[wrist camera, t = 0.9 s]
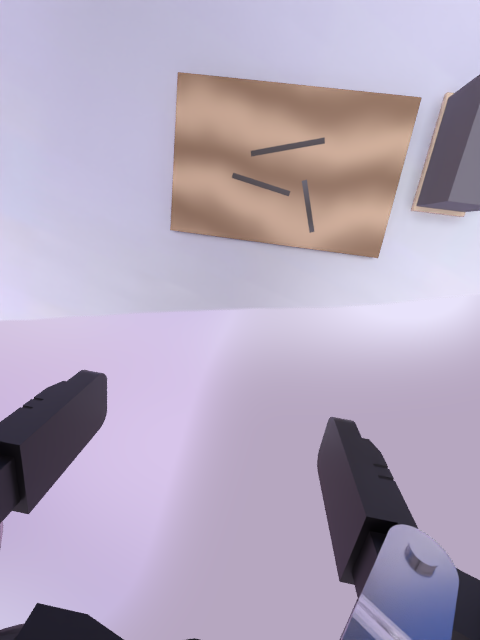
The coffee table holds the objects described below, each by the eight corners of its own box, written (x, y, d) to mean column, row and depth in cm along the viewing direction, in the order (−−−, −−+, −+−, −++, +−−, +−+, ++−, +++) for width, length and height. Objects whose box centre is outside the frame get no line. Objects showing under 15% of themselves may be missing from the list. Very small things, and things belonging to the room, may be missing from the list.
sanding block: (443, 95, 26) (491, 58, 21) (500, 101, 26) (564, 65, 20) (410, 210, 30) (443, 205, 24) (460, 216, 29) (506, 213, 24)
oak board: (182, 80, 28) (177, 72, 26) (413, 104, 27) (421, 97, 25) (174, 230, 32) (170, 230, 31) (373, 256, 31) (378, 258, 30)
